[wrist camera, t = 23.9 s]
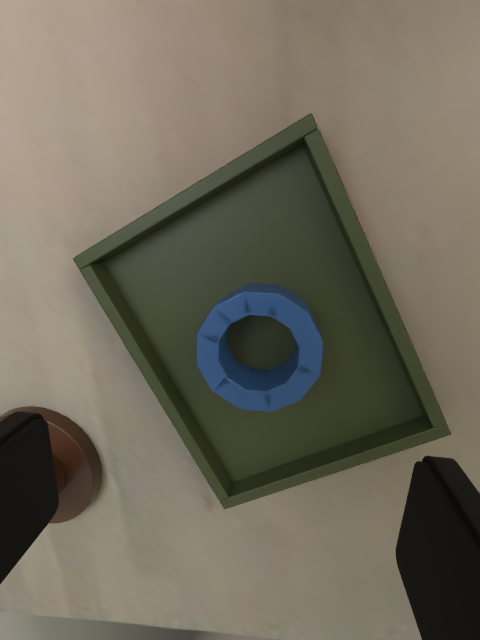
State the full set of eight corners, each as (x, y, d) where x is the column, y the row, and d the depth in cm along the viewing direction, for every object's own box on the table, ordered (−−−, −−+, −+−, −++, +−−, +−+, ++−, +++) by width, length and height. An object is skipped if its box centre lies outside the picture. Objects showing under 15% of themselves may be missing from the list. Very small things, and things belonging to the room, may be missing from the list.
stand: (-35, 432, 27) (-175, 520, 19) (55, 387, 25) (-59, 465, 17) (33, 525, 29) (-68, 643, 21) (124, 491, 27) (51, 608, 18)
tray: (91, 255, 22) (71, 258, 20) (308, 125, 18) (311, 112, 16) (229, 487, 25) (224, 509, 23) (436, 416, 22) (452, 434, 20)
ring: (189, 313, 22) (174, 325, 19) (287, 263, 20) (287, 269, 17) (239, 402, 23) (232, 427, 20) (335, 363, 21) (343, 383, 18)
